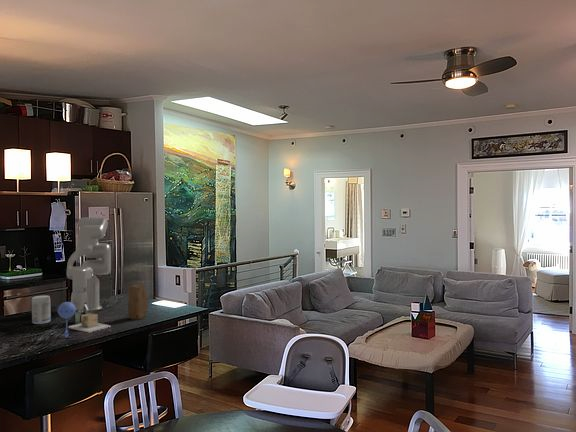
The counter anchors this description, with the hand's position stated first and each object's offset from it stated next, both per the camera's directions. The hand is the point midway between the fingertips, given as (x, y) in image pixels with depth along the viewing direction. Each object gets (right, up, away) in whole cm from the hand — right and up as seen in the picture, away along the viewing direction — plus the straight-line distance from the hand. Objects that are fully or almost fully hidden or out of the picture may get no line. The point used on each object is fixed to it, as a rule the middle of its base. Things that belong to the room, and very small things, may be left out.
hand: (79, 321), depth 280 cm
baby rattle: (+6, -2, -29) cm, 30 cm away
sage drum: (0, -1, 0) cm, 1 cm away
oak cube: (+10, 0, -10) cm, 14 cm away
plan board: (+10, -1, -11) cm, 15 cm away
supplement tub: (-22, -1, -1) cm, 22 cm away
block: (+30, -1, +13) cm, 32 cm away
